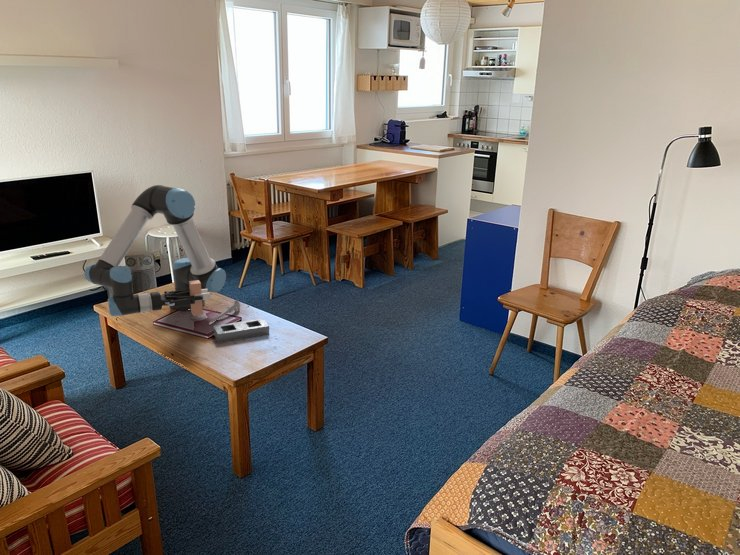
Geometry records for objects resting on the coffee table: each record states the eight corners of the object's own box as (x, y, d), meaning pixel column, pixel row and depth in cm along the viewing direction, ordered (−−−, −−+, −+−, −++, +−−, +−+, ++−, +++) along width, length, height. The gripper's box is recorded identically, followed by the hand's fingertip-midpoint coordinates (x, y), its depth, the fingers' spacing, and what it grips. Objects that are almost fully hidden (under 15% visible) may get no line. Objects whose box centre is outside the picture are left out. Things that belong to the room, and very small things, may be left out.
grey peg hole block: (213, 334, 244) (213, 325, 243) (262, 326, 254) (262, 318, 253) (218, 342, 237) (218, 334, 236) (269, 334, 247) (269, 326, 246)
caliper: (238, 310, 271) (237, 298, 269) (240, 311, 270) (239, 299, 268) (207, 325, 254) (207, 312, 252) (209, 325, 253) (208, 312, 251)
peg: (191, 312, 240) (188, 281, 235) (200, 310, 242) (198, 280, 237) (193, 315, 237) (190, 284, 232) (202, 314, 239) (200, 283, 234)
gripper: (148, 302, 237) (204, 294, 247) (154, 318, 223) (214, 309, 233) (146, 286, 234) (203, 278, 245) (152, 300, 220) (213, 292, 231)
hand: (208, 293), depth 239 cm, fingers closed on peg, 4 cm apart
